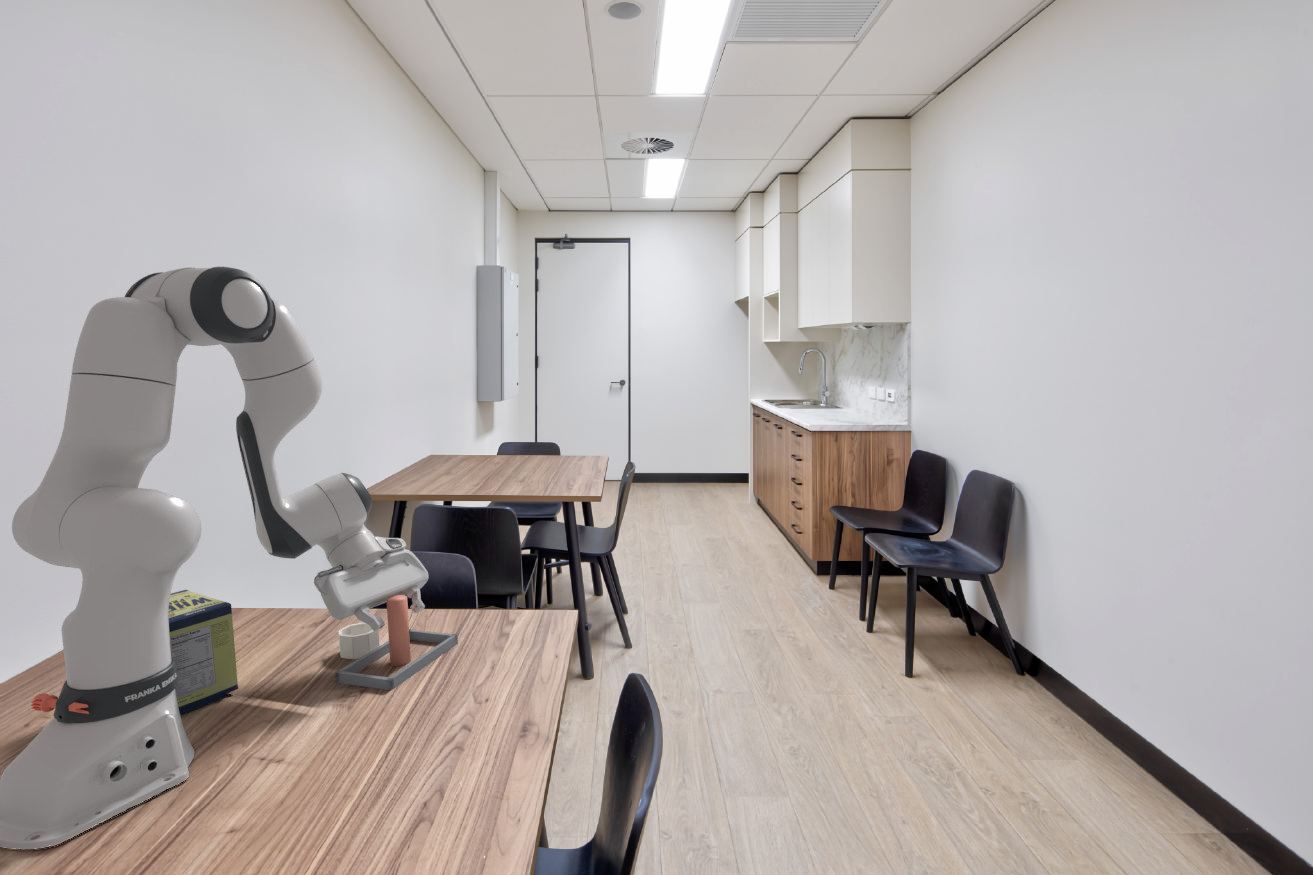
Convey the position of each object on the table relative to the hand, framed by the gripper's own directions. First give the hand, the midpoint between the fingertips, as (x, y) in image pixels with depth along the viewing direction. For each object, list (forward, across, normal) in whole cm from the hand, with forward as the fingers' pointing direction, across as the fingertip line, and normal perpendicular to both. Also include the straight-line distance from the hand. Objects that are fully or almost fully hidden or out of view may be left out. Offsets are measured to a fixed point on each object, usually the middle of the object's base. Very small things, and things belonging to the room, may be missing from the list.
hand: (400, 619), depth 125 cm
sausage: (+5, 0, +6) cm, 8 cm away
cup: (-2, 0, +14) cm, 14 cm away
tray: (+6, 0, +7) cm, 9 cm away
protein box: (-12, -24, +24) cm, 36 cm away
